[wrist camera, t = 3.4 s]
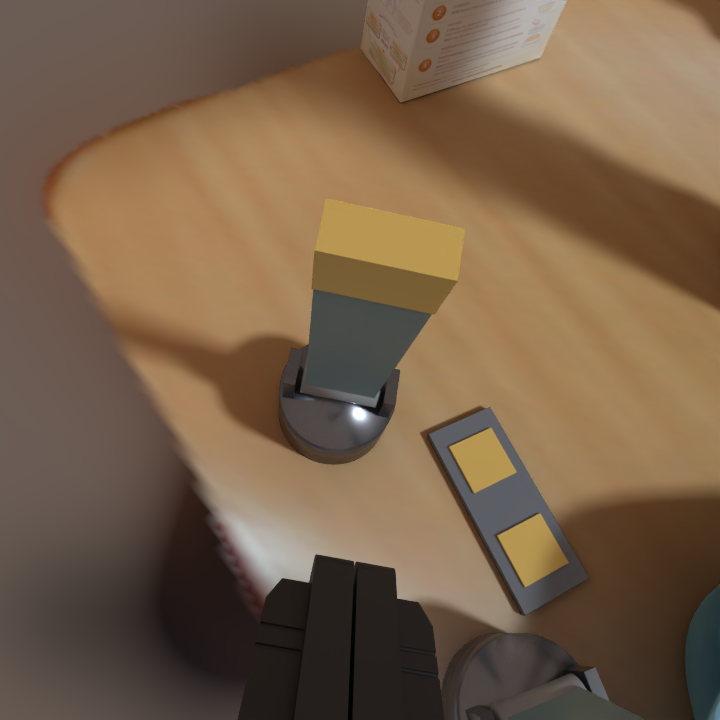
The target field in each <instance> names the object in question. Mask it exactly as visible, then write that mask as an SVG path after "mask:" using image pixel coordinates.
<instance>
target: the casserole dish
mask: <svg viewBox="0 0 720 720" xmlns="http://www.w3.org/2000/svg"><path fill="white" fill-rule="evenodd" d="M685 667H686V679H687V686H688V692H689V697H690V702H691V706H692V710H693V714H694V719H695V720H720V584H719V585H718V586H717V587H716V588H715V589H713V590H712V591H711V592H710V593H709V594H708V595H707V597H706V598H705V599H704V600H703V601H702V603H701V604H700V605H699V607H698V608H697V610H696V612H695V613H694V615H693V618H692V620H691V623H690V625H689V629H688V633H687V638H686V645H685Z"/></svg>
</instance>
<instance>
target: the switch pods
mask: <svg viewBox="0 0 720 720" xmlns="http://www.w3.org/2000/svg"><path fill="white" fill-rule="evenodd" d="M308 346H309V344H308V345H307V346H305V347H303V348H302V349H301V350H300V349H295V348H291V352H290V356H289V360H288V363H287V365H286V367H285V369H284V371H283V374H282V377H281V381H280V392H279V421H280V425H281V428H282V431H283V433H284V435H285V437H286V439H287V440H288V442H289V443H290V444H291V446H292V447H293V448H294V449H295V450H296V451H298V452H299V453H300V454H302V455H303V456H305V457H306V458H308V459H311V460H313V461H316V462H319V463H323V464H334V465H335V464H344V463H348V462H351V461H354V460H356V459H358V458H360V457H362V456H363V455H365V454H366V453H368V452H369V451H370V450H371V449H372V448H373V447H374V445H375V444H376V443H377V441H378V440H379V438H380V436H381V435H382V433H383V431H384V429H385V428H386V426H387V424H388V422H389V420H390V419H391V416H392V414H393V412H394V408H395V405H396V396H397V389H398V382H399V375H400V370H397V369H394V370H393V372H392V373H391V375H390V376H389V378H388V379H387V381H386V382H385V383H384V385H383V386H382V388H381V389H380V393H379V398H378V401H377V404H376V407H370V406H365V405H360V404H355V403H350V402H345V401H340V400H335V399H330V398H325V397H320V396H315V395H310V394H305V393H300V389H301V383H302V378H303V373H304V368H305V364H306V359H307V356H308ZM570 673H572V674H574V675H575V676H577V677H578V678H579V679H580V681H581V682H582V683H583V685H584V686H585V688H586V689H587V691H589V692H591V693H593V694H595V695H597V696H599V697H601V698H603V699H605V700H607V701H609V698H608V696H607V693H606V691H605V689H604V686H603V684H602V681H601V679H600V677H599V674H598V672H597V670H596V667H589V666H580V665H577V663H576V662H575V661H574V659H573V658H572V657H571V656H570V655H569V654H568V653H567V652H566V651H565V650H563V649H562V648H561V647H560V646H558V645H557V644H555V643H553V642H552V641H550V640H548V639H546V638H543V637H540V636H537V635H532V634H515V633H493V634H486V635H483V636H479V637H477V638H475V639H473V640H471V641H470V642H468V643H467V644H465V645H464V646H463V647H462V648H461V649H460V650H459V651H458V652H457V654H456V655H455V656H454V658H453V659H452V661H451V663H450V665H449V667H448V669H447V672H446V675H445V678H444V682H443V687H442V705H443V713H444V720H495V719H494V716H493V713H492V711H491V710H490V706H492V705H495V704H497V703H500V702H502V701H504V700H507V699H509V698H512V697H514V696H516V695H519V694H521V693H524V692H526V691H528V690H531V689H533V688H536V687H538V686H541V685H543V684H545V683H548V682H550V681H553V680H555V679H557V678H560V677H562V676H565V675H567V674H570ZM609 702H610V701H609Z"/></svg>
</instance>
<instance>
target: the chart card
mask: <svg viewBox="0 0 720 720" xmlns="http://www.w3.org/2000/svg"><path fill="white" fill-rule="evenodd" d="M428 438H429V440H430V442H431V444H432V446H433V448H434V450H435V451H436V453H437V455H438V457H439V459H440V461H441V463H442V465H443V467H444V468H445V470H446V472H447V474H448V476H449V478H450V480H451V482H452V483H453V485H454V487H455V489H456V491H457V493H458V495H459V497H460V499H461V500H462V502H463V504H464V506H465V508H466V510H467V512H468V514H469V515H470V517H471V519H472V521H473V523H474V525H475V527H476V529H477V531H478V532H479V534H480V536H481V538H482V540H483V542H484V544H485V546H486V547H487V549H488V551H489V553H490V555H491V557H492V559H493V561H494V563H495V564H496V566H497V568H498V570H499V572H500V574H501V576H502V578H503V579H504V581H505V583H506V585H507V587H508V589H509V591H510V593H511V595H512V596H513V598H514V600H515V602H516V604H517V606H518V608H519V610H520V611H521V613H522V615H527V614H528V613H530V612H532V611H534V610H535V609H537V608H539V607H540V606H542V605H544V604H546V603H547V602H549V601H551V600H552V599H554V598H556V597H558V596H559V595H561V594H563V593H564V592H566V591H568V590H569V589H571V588H573V587H575V586H576V585H578V584H580V583H581V582H583V581H585V580H587V579H588V578H589V577H588V575H587V573H586V572H585V570H584V568H583V566H582V565H581V563H580V561H579V559H578V558H577V556H576V554H575V553H574V551H573V549H572V547H571V546H570V544H569V542H568V541H567V539H566V537H565V535H564V534H563V532H562V530H561V528H560V527H559V525H558V523H557V522H556V520H555V518H554V516H553V515H552V513H551V511H550V509H549V508H548V506H547V504H546V503H545V501H544V499H543V497H542V496H541V494H540V492H539V491H538V489H537V487H536V485H535V484H534V482H533V480H532V478H531V477H530V475H529V473H528V472H527V470H526V468H525V466H524V465H523V463H522V461H521V459H520V458H519V456H518V454H517V453H516V451H515V449H514V447H513V446H512V444H511V442H510V441H509V439H508V437H507V435H506V434H505V432H504V430H503V428H502V427H501V425H500V423H499V422H498V420H497V418H496V416H495V415H494V413H493V411H492V409H491V408H490V407H489V408H486V409H484V410H482V411H480V412H477V413H475V414H473V415H471V416H468V417H466V418H464V419H462V420H459V421H457V422H455V423H453V424H450V425H448V426H446V427H444V428H441V429H439V430H437V431H435V432H433V433H430V434H429V435H428Z"/></svg>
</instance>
